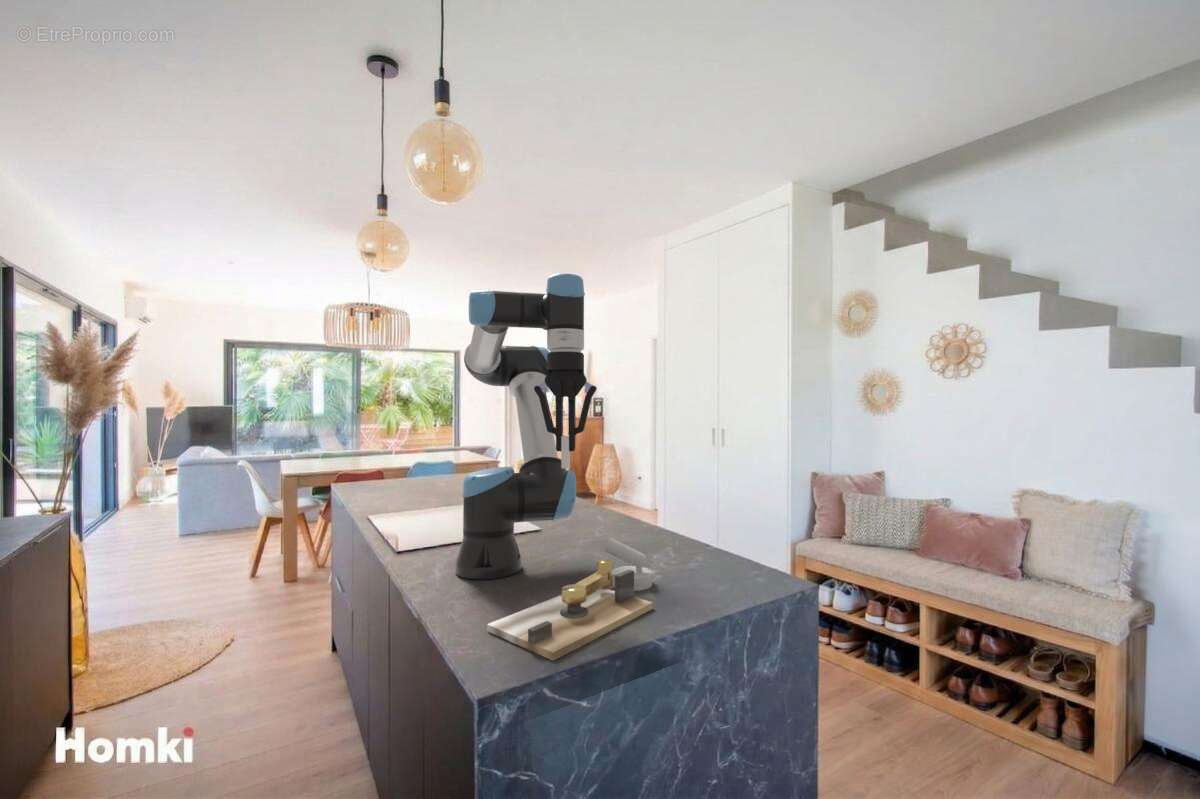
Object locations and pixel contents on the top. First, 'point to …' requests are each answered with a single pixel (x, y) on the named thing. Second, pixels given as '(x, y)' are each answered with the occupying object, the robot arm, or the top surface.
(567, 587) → the latch lever
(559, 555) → the top surface
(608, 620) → the door plate
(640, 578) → the wall hook
